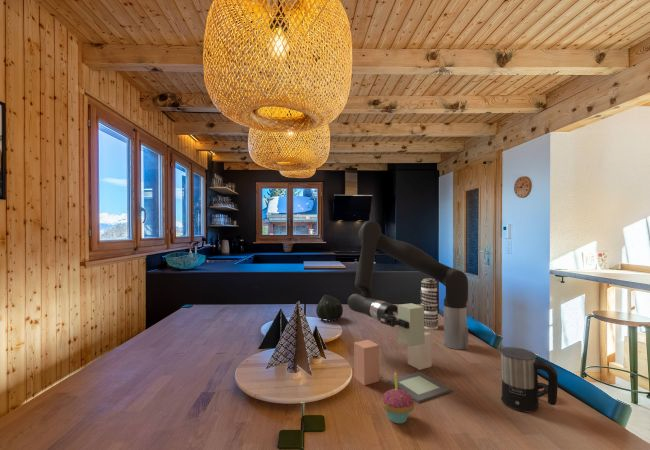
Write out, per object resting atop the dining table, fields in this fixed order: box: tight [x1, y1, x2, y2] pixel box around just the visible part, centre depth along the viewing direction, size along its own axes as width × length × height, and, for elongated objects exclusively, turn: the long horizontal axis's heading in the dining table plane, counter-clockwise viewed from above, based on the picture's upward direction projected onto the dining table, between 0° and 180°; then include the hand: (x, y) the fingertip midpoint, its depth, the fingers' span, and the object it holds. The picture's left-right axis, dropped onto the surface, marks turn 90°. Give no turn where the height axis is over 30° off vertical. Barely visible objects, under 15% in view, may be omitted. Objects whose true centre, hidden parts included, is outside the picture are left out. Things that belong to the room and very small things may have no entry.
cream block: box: [407, 330, 432, 371], centre depth 116 cm, size 6×6×12 cm
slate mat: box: [387, 371, 453, 404], centre depth 100 cm, size 14×14×1 cm
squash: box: [316, 294, 344, 322], centre depth 177 cm, size 14×15×15 cm
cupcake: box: [381, 369, 415, 424], centre depth 83 cm, size 9×8×12 cm
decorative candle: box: [419, 277, 439, 330], centre depth 163 cm, size 9×9×25 cm
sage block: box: [397, 302, 425, 347], centre depth 103 cm, size 6×6×12 cm
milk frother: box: [498, 346, 559, 413], centre depth 92 cm, size 14×16×15 cm
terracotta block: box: [353, 339, 380, 386], centre depth 105 cm, size 6×6×12 cm
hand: (416, 324), depth 101 cm, fingers closed on sage block, 6 cm apart
